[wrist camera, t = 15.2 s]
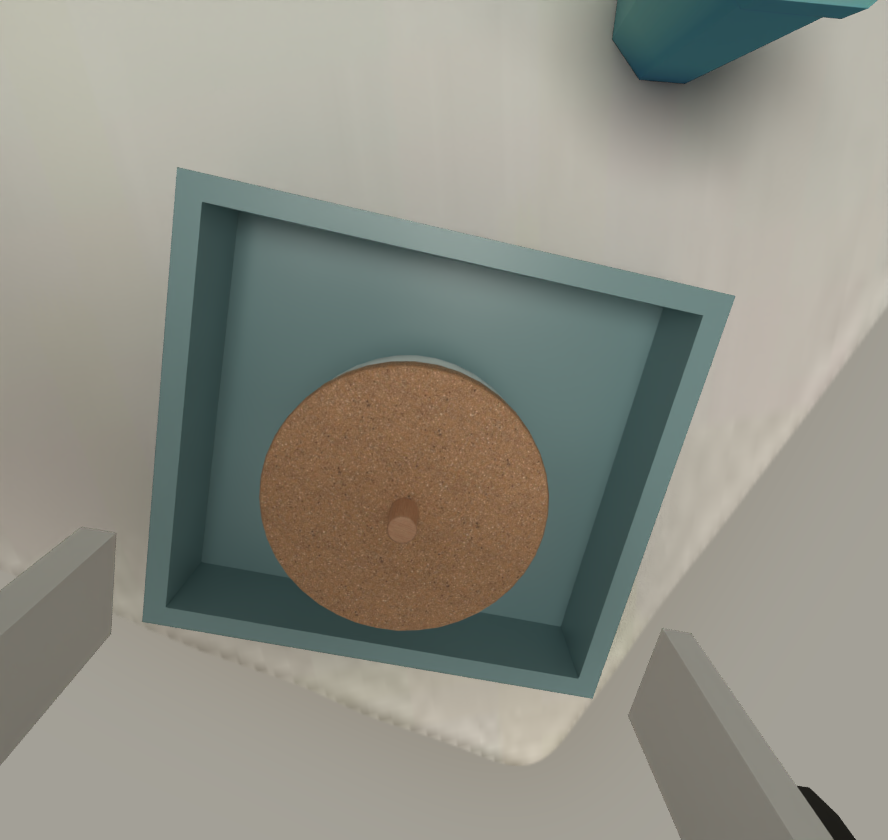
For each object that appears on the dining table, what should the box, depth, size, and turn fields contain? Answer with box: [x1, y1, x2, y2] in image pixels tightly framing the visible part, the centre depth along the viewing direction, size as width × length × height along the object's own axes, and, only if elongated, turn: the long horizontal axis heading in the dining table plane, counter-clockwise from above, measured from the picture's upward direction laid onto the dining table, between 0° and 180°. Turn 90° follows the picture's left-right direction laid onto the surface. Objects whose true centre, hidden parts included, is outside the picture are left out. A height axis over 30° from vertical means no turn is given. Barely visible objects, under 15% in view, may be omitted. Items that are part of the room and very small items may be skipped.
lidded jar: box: [259, 355, 549, 631], centre depth 23 cm, size 11×11×9 cm
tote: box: [142, 167, 735, 698], centre depth 26 cm, size 22×20×5 cm
